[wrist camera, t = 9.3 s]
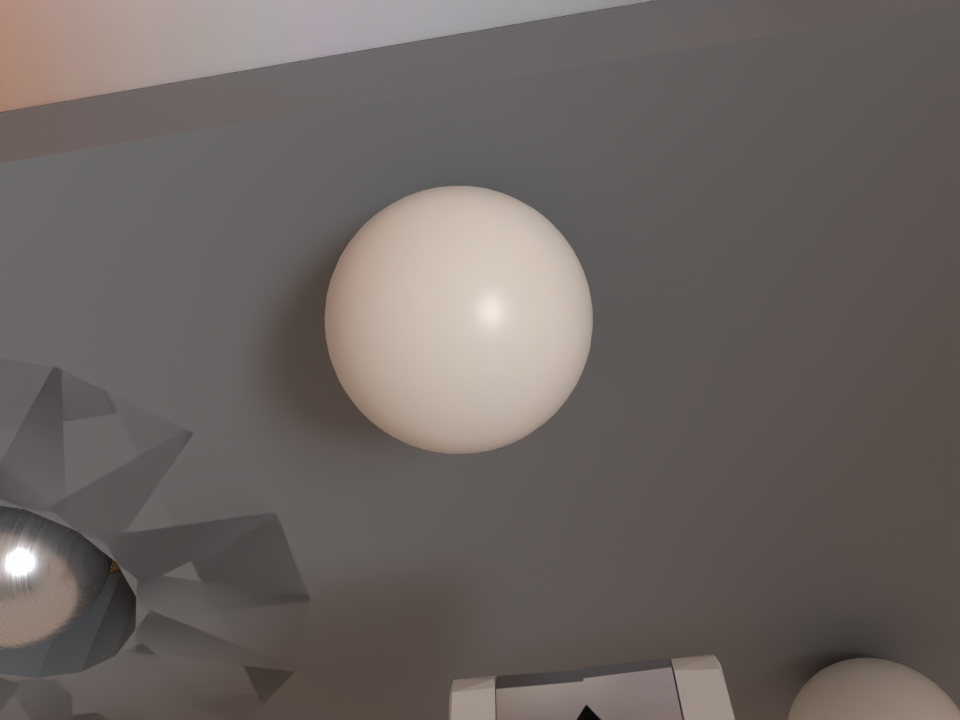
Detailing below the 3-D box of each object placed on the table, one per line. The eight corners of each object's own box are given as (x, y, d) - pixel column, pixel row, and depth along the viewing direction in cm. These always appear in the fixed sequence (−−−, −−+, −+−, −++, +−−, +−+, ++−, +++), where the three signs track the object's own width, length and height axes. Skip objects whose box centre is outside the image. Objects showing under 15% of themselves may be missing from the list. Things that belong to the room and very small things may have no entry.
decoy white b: (563, 125, 11) (600, 241, 8) (586, 339, 13) (621, 491, 10) (312, 167, 11) (268, 292, 8) (369, 370, 13) (349, 527, 10)
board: (1220, -97, 12) (1384, -68, 10) (1015, 617, 20) (1079, 713, 18) (-516, 200, 14) (-692, 278, 11) (-44, 745, 22) (-95, 847, 20)
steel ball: (-4, 560, 14) (-166, 553, 14) (75, 694, 15) (-74, 682, 16) (108, 436, 16) (-34, 436, 17) (166, 561, 18) (34, 557, 19)
